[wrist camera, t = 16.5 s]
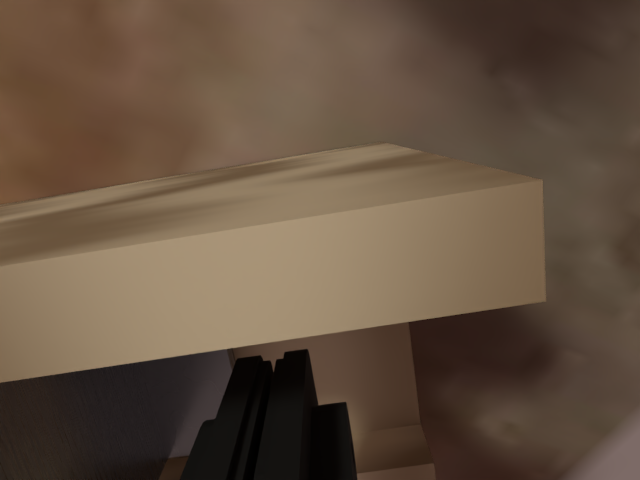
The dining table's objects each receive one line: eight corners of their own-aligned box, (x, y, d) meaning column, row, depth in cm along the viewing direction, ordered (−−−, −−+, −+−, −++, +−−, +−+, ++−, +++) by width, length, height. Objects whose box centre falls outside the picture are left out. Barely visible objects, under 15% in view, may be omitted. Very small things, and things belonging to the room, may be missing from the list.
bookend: (207, 241, 13) (-19, 472, 4) (253, 434, 15) (159, 873, 6) (92, 259, 13) (-350, 518, 4) (152, 448, 15) (-82, 897, 6)
